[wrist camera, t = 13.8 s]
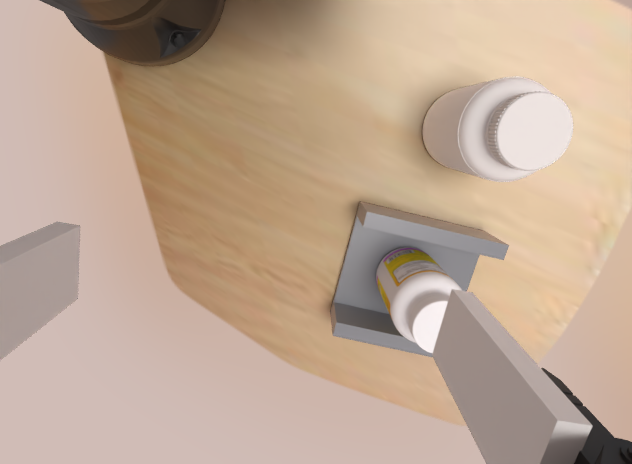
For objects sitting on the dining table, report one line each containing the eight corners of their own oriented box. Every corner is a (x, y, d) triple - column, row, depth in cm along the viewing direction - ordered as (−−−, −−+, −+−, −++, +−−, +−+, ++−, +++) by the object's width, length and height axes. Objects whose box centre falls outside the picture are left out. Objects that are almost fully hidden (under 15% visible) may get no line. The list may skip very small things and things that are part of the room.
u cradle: (359, 201, 44) (367, 211, 38) (484, 230, 45) (508, 245, 39) (330, 311, 47) (332, 335, 41) (447, 336, 48) (465, 364, 42)
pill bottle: (424, 174, 43) (481, 197, 29) (417, 95, 42) (474, 76, 27) (499, 163, 43) (595, 180, 29) (496, 83, 41) (596, 57, 27)
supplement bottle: (417, 311, 46) (457, 378, 34) (364, 288, 46) (384, 348, 33) (446, 259, 45) (498, 309, 32) (392, 235, 44) (424, 276, 32)
